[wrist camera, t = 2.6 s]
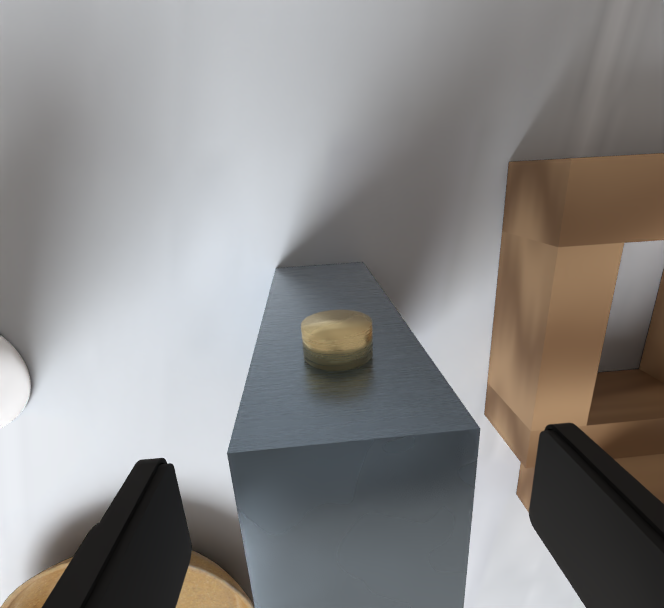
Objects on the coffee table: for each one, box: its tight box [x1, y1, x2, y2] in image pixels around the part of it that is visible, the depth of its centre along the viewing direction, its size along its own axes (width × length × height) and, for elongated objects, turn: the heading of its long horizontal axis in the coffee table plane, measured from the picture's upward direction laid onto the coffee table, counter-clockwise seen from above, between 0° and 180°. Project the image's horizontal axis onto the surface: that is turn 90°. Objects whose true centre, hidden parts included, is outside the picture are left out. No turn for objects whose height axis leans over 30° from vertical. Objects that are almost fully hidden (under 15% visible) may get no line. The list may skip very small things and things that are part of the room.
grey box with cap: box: [227, 262, 480, 608], centre depth 12 cm, size 7×4×12 cm, turn 3°
